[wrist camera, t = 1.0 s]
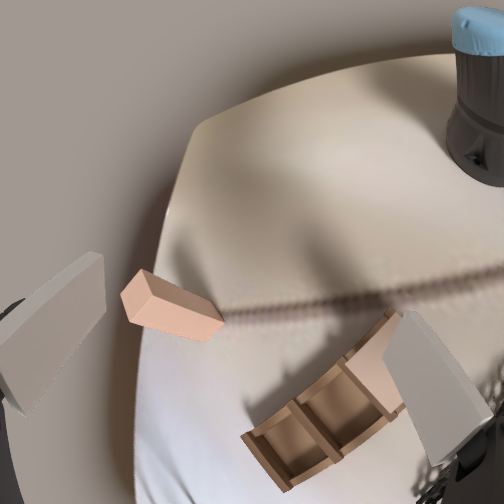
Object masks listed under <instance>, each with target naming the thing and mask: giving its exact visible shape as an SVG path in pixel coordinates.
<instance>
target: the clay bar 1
mask: <svg viewBox="0 0 504 504" xmlns="http://www.w3.org/2000/svg"><path fill="white" fill-rule="evenodd" d="M121 298H122V301H123V304H124V307H125V310H126V313H127V316H128V319H129V322H132V323H135V324H138V325H142V326H145V327H148V328H152V329H155V330H159V331H162V332H166V333H169V334H173V335H177V336H181V337H185V338H189V339H193V340H197V341H201V342H206V341H207V340H208V339H209V338H210V337H211V336H212V335H213V334H214V333H215V332H216V331H217V330H218V329H219V328H221V327H222V326H223V325H224V324H225V322H224V320H223V319H222V317H221V316H220V314H219V313H218V311H217V310H216V308H215V307H214V305H213V304H212V302H211V301H209V300H207V299H204V298H202V297H200V296H198V295H196V294H193V293H191V292H189V291H187V290H185V289H182V288H180V287H178V286H176V285H174V284H172V283H170V282H168V281H166V280H164V279H161V278H159V277H157V276H155V275H153V274H151V273H149V272H147V271H145V270H143V269H141V270H140V271H139V272H138V273H137V275H136V276H135V277H134V278H133V279H132V281H131V282H130V283H129V284H128V285H127V287H126V288H125V289H124V290H123V292H122V293H121Z"/></svg>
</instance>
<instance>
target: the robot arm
mask: <svg viewBox="0 0 504 504" xmlns="http://www.w3.org/2000/svg"><path fill="white" fill-rule="evenodd" d="M452 29H453V39H452V43H453V46H454V48H455V55H456V68H457V102H456V104H455V107H454V109H453V112H452V114H451V117H450V119H449V120H448V123H447V128H446V143H447V147H448V150H449V152H450V154H451V156H452V158H453V159H454V160H455V162H456V163H457V164H458V165H459V166H460V167H461V168H462V169H463V170H464V171H465V172H466V173H467V174H469V175H470V176H472V177H473V178H475V179H476V180H478V181H480V182H482V183H485V184H488V185H491V186H495V187H504V11H502V10H498V9H493V8H488V7H465V8H461V9H459V10H457V11H455V13H454V14H453V16H452ZM106 311H107V309H106V297H105V282H104V255H102V254H98V253H94V252H90V251H89V252H87V253H86V254H84V255H83V256H81V257H80V258H79V259H77V260H76V261H74V262H73V263H72V264H70V265H69V266H68V267H66V268H65V269H63V270H62V271H61V272H59V273H58V274H57V275H55V276H54V277H53V278H52V279H50V280H49V281H48V282H46V283H45V284H44V285H42V286H41V287H40V288H39V289H38V290H36V291H35V292H34V293H32V294H31V295H30V296H29V297H28V298H26V299H25V298H24V299H22V300H19V301H17V302H15V303H13V304H12V305H10V306H9V307H8V308H7V309H6V310H4V313H1V314H0V504H24V501H23V498H22V495H21V492H20V489H19V486H18V482H17V479H16V475H15V471H14V467H13V462H12V459H11V453H10V448H9V442H8V436H7V430H6V422H5V413H4V407H3V404H2V402H1V401H2V400H3V398H4V397H5V398H6V399H7V401H8V402H9V404H10V406H11V407H12V408H13V409H14V410H16V411H17V412H19V413H20V414H22V415H23V416H25V417H26V418H29V416H30V415H31V413H32V412H33V410H34V409H35V407H36V405H37V404H38V402H39V401H40V399H41V398H42V396H43V395H44V393H45V392H46V390H47V389H48V388H49V386H50V385H51V383H52V382H53V380H54V379H55V377H56V376H57V375H58V373H59V372H60V370H61V369H62V368H63V366H64V365H65V364H66V362H67V361H68V359H69V358H70V357H71V355H72V354H73V353H74V351H75V350H76V349H77V347H78V346H79V345H80V343H81V342H82V341H83V340H84V338H85V337H86V336H87V335H88V333H89V332H90V331H91V329H92V328H93V327H94V326H95V324H96V323H97V322H98V321H99V319H100V318H101V317H102V316H103V315H104V313H105V312H106ZM381 358H382V360H383V361H384V363H385V365H386V367H387V369H388V371H389V373H390V375H391V377H392V379H393V381H394V383H395V385H396V387H397V389H398V392H399V394H400V396H401V398H402V400H403V402H404V404H405V406H406V408H407V411H408V413H409V415H410V417H411V419H412V421H413V424H414V426H415V428H416V431H417V433H418V435H419V437H420V440H421V442H422V444H423V447H424V449H425V452H426V454H427V457H428V459H429V462H430V464H431V467H434V466H437V465H440V464H443V463H445V462H446V461H448V460H449V459H450V458H451V457H452V456H453V455H455V454H457V456H458V458H457V459H455V460H454V461H453V462H452V463H451V464H449V465H448V466H447V467H446V468H444V469H443V470H442V471H441V472H440V474H439V475H440V476H441V475H443V474H444V473H445V472H447V471H448V470H450V471H449V472H448V473H447V474H446V475H445V476H444V477H446V478H448V482H447V485H446V489H445V492H444V495H443V498H442V502H441V504H504V416H500V417H498V419H497V418H496V417H495V416H494V414H493V413H492V411H491V409H490V408H489V406H488V405H487V403H486V402H485V400H484V399H483V397H482V396H481V394H480V393H479V391H478V390H477V388H476V387H475V385H474V384H473V382H472V381H471V380H470V378H469V377H468V375H467V374H466V373H465V371H464V370H463V369H462V367H461V366H460V364H459V363H458V362H457V360H456V359H455V358H454V356H453V355H452V354H451V353H450V351H449V350H448V349H447V347H446V346H445V345H444V344H443V342H442V341H441V340H440V338H439V337H438V336H437V335H436V334H435V332H434V331H433V330H432V329H431V327H430V326H429V325H428V324H427V323H426V321H425V320H424V319H423V318H422V317H421V315H420V314H419V313H418V312H414V311H405V313H404V315H403V317H402V319H401V321H400V323H399V325H398V327H397V329H396V331H395V333H394V335H393V337H392V339H391V340H390V342H389V344H388V346H387V348H386V350H385V351H384V353H383V355H382V357H381Z"/></svg>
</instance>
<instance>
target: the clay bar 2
mask: <svg viewBox="0 0 504 504" xmlns="http://www.w3.org/2000/svg"><path fill="white" fill-rule="evenodd" d="M401 319H402V317H401V316H400V315H399V314H398V313H397V312H395V313H394V314H393V316H392V317H391V318H390V319H389V320H388V321H387V322H386V323H385V324H384V325H383V327H382V328H381V329H380V330H379V331H378V332H377V333H376V334H375V335H374V336H373V337H372V338H371V339H370V340H369V341H368V342H367V343H366V344H365V345H364V346H363V347H362V348H361V349H360V350H359V351H358V352H357V353H356V354H355V355H354V356H353V357H352V358H351V359H350V360H349V361H348V362H346V363H345V365H346V366H347V367H348V368H349V369H350V371H351V372H352V373H353V374H354V375H355V376H356V377H357V378H358V379H359V380H360V381H361V383H362V384H363V385H364V386H365V387H366V388H367V389H368V390H369V391H370V392H371V393H372V394H373V396H374V397H375V398H376V399H377V400H378V401H379V402H380V403H381V404H382V405H383V406H384V407H385V409H386V410H387V411H388V412H389V413H390V414H391V413H392V412H393V411H394V410H395V409H396V408H397V407H398V406H399V405H401V404H402V403H403V400H402V398H401V396H400V394H399V392H398V389H397V387H396V385H395V383H394V381H393V379H392V377H391V375H390V373H389V371H388V369H387V367H386V365H385V363H384V361H383V360H382V358H381V357H382V355H383V353H384V351H385V350H386V348H387V346H388V344H389V342H390V340H391V339H392V337H393V335H394V333H395V331H396V329H397V327H398V325H399V323H400V321H401Z"/></svg>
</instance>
